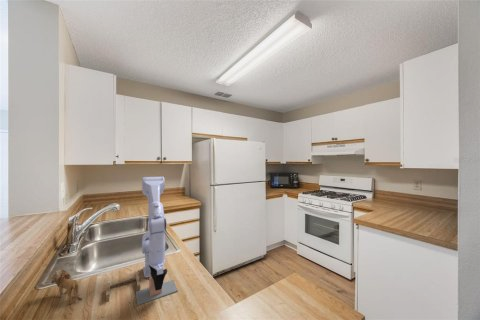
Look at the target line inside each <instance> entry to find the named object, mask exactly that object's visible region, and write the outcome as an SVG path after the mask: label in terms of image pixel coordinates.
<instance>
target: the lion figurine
mask: <svg viewBox="0 0 480 320" xmlns="http://www.w3.org/2000/svg"><path fill="white" fill-rule="evenodd" d="M54 273H55V274H53V275H52V277H51V278H49V280H48V281H49V282H50V283H51V284H54V283H55V285H56V286H57V287H58V291H59V295H58V296H57V298H62V297H63V296H64V290H65V293H66V295H67V297H68V300H69V302H68V305H73V303H74V298H73V296H72V292H73V294H74V297H75V299H77V300H78V301H82V300H83V299H82V298H81V297H79V295H80V294H79V283H78V281H77V279H73V278H72V276H71V274H70V273H69V272H68V271H66V270H65V269H59V270H56V271H55V272H54Z"/></svg>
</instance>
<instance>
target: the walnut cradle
mask: <svg viewBox="0 0 480 320" xmlns="http://www.w3.org/2000/svg"><path fill="white" fill-rule="evenodd" d="M133 282H135V285H136V286H135V287H136V291H139V290H141V283H140V282H141V281H140V276H139V274H137V275H136V274H135V278H132V279H130V280H126V281H121V282H119V283H114V284H112V285H111V282H108V283H106V292H105V293H106V294H105V303H108V302H110V296H111V289H113V288H116V287H117V288H118V287H120V286H124V285H127V284H131V283H133Z"/></svg>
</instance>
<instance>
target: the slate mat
mask: <svg viewBox="0 0 480 320" xmlns="http://www.w3.org/2000/svg"><path fill="white" fill-rule="evenodd" d="M177 292H178V288H177V286H176V283H175V281H174V280H173V279H170V280H168V281H165V282H164V281H163V285H162V293H159V294H156V295H153V296H150V292H149V287H146V288H143V289H140V290H139V291H137V290H136V291H135V298H136V306H141V305H143V304H146V303H149V302H152V301H155V300H157V299H161V298H164V297H166V296H168V295H169V296H170V295H171V294H175V293H177Z"/></svg>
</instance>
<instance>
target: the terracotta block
mask: <svg viewBox="0 0 480 320" xmlns="http://www.w3.org/2000/svg"><path fill="white" fill-rule="evenodd" d="M148 278H149V279H148V283H149V284H148V288H149V292H150V296H153V295H156V294H159V293H162V289H160V290H157V291H156V290H155V286H154V280H153V278H152V277H151V275H149V277H148Z"/></svg>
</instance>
